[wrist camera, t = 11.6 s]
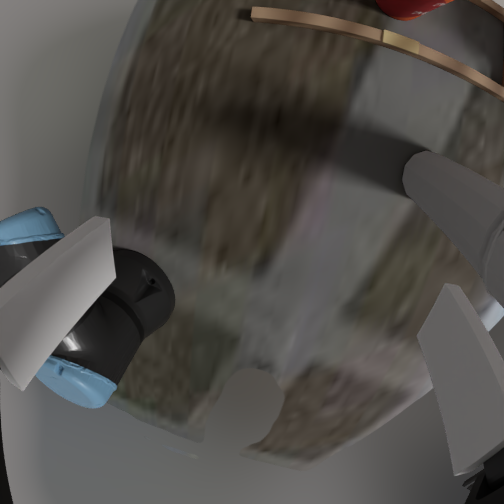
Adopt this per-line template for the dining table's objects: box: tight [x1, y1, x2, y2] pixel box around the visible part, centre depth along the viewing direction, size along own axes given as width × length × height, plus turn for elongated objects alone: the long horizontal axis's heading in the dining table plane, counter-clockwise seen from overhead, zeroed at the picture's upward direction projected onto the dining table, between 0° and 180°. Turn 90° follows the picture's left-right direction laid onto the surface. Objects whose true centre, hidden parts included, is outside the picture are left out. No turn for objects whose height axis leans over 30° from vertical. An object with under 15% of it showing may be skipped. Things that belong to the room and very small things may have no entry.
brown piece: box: [251, 0, 504, 102], centre depth 20 cm, size 36×15×2 cm, turn 83°
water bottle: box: [402, 151, 504, 308], centre depth 20 cm, size 9×8×25 cm
